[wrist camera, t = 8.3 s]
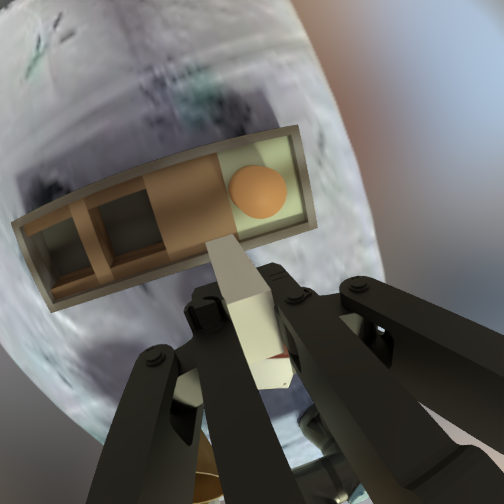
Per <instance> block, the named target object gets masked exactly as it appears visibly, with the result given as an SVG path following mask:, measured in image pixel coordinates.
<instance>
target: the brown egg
mask: <svg viewBox="0 0 504 504" xmlns="http://www.w3.org/2000/svg"><path fill="white" fill-rule="evenodd" d="M228 190H229V195H230V198H231V200H232V202H233V203H234V204H235V205H236V206H237V207H238V208H239V209H240V210H242V211H243V212H244V213H245V214H246V215H248V216H250V217H252V218H256V219H265V218H269V217H271V216H273V215H275V214H276V213H277V212H278V211H279V210H280V209H281V208H282V207H283V205H284V203H285V200H286V196H287V188H286V184H285V181H284V179H283V178H282V176H281V175H280V174H279V173H278V172H277V171H275V170H273V169H271V168H268V167H262V166H256V165H247V166H244V167H241V168H240V169H238V170H237V171H236V172H235V173H234V174H233V175H232V177H231V179H230V182H229V187H228Z"/></svg>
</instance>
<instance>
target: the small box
mask: <svg viewBox="0 0 504 504" xmlns="http://www.w3.org/2000/svg"><path fill="white" fill-rule="evenodd" d="M283 344H284V343H283ZM284 348H285V352H283V353H281V354H278V355H275V356H273V357H270V358H267V359H264V360H261V361H259V362H256V363H253V364H250V365H249V368H250V370H251V373H252V376H253V378H254V381H255V383H256V386H257V388H258V390H260V389H275V388H288V387H289V385H290V382H291V379H292V377H293V372H292V367H291V363H290V358H289V354H288V350H287V348H286V346H285V345H284Z"/></svg>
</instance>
